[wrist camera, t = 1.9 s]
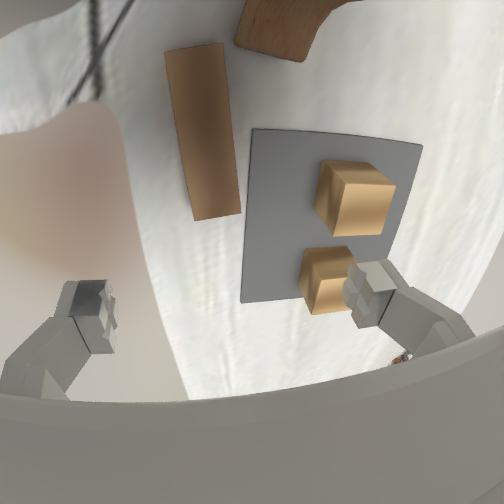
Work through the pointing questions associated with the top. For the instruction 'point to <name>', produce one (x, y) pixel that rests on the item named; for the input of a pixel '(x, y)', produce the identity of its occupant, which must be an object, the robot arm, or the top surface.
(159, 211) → the top surface
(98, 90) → the top surface
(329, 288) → the cube
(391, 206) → the mat
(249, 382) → the top surface
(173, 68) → the lintel
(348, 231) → the cube
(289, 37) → the wooden block
